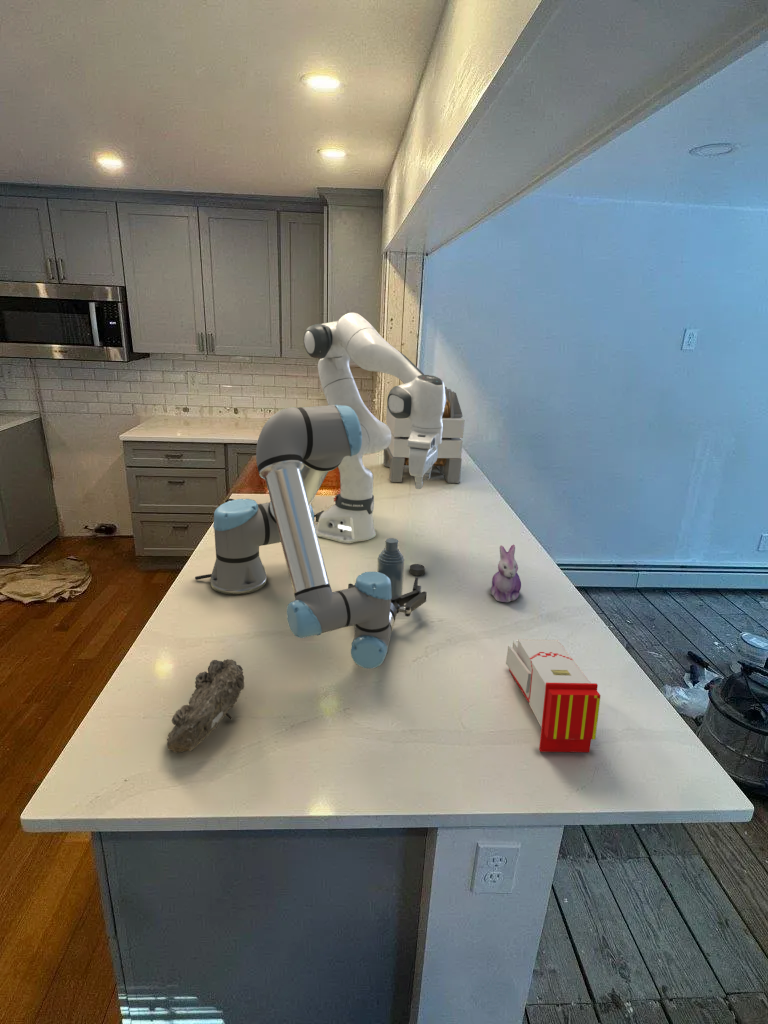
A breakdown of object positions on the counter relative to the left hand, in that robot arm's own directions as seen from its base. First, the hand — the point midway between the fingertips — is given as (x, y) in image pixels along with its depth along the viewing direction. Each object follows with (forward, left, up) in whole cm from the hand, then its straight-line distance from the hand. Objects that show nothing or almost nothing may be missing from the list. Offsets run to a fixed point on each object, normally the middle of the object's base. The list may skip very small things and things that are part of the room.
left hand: (391, 579), depth 152 cm
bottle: (0, 0, -6) cm, 6 cm away
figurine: (+31, +10, -6) cm, 34 cm away
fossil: (-26, -53, -6) cm, 60 cm away
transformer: (-5, +129, -6) cm, 129 cm away
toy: (+37, -36, -6) cm, 52 cm away
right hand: (+5, +19, +22) cm, 29 cm away
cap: (+5, +19, -5) cm, 20 cm away
